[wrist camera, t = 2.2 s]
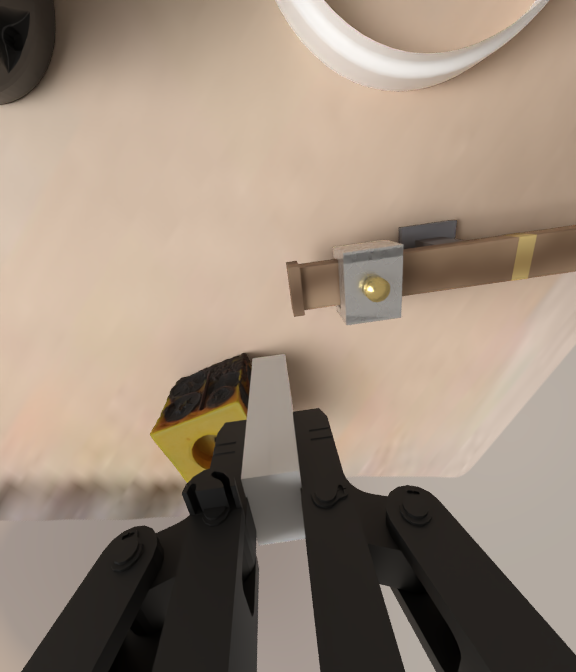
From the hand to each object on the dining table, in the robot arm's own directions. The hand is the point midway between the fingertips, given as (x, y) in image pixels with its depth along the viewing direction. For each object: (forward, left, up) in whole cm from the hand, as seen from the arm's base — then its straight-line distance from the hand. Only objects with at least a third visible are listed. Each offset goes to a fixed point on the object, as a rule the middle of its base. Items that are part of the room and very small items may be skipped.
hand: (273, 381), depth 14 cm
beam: (0, +18, -22) cm, 28 cm away
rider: (0, +9, -16) cm, 19 cm away
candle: (+15, -8, -22) cm, 28 cm away
